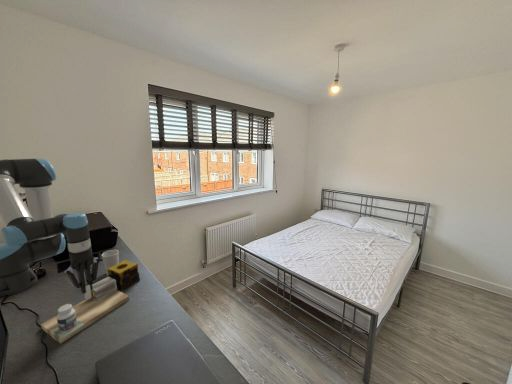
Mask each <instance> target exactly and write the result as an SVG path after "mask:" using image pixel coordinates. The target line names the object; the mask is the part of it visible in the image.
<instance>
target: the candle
mask: <svg viewBox="0 0 512 384" xmlns="http://www.w3.org/2000/svg"><path fill="white" fill-rule="evenodd" d="M108 274H109V275H108V277H111V278H113V279H115V280H116V285H117V290H118V291H125V290H126V289H128V288H129V287H131V286H132V285H134V284H136V283H138V282H139V281H140V280H141V278H140V273H139V264H138V263H136V262H132V261H129V260H128V259H124V260H123V261H121V262H120V261H119V263H118V264H116V265H114V266H112V267H110V268H108ZM137 281H138V282H137ZM135 282H136V283H135Z"/></svg>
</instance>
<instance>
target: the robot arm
mask: <svg viewBox="0 0 512 384" xmlns="http://www.w3.org/2000/svg"><path fill="white" fill-rule="evenodd" d="M56 179H57V175H56V171H55V168H54V167H53V164H52V163H51V162H50V160H48V159H45V158H18V159H17V158H16V159H5V158H4V159H0V217H1V219H2V221H3V223H4V225H5V226H6V227H3V228H1V230H0V231H1V232H0V233H1V236H2V240H3V243H1V244H0V297H1V298H2V297H6V295H8V296H12V295H15V294H18V293H20V292H23V291H25V290H27V289H29V288H32V287H33V286H34V285H35V284H37V282H38V276H37V275H36V274H35V272H34V271H33V270H32V269H31V268H30V264H31V263H35V262H39V261H40V260H44V259H48V258H51V257H54V256H57V255H60V254H61V253H63V252H64V251H65V249H66V245H67V251H68V256H69V261H70V263H69V267H68V268H67V269H64V270H63V273H65V275H67V276H68V279H69V280H70V282H71V283H72V284H73V286H74V287H75V288H76V289H80V292H81V293H82V294H83V295H84V299H85V300H86V299H90V298H92V296H91V290H92V289H93V287H92V285H93V284H94V281H96V280H97V278H98V269H99V264H100V262H101V258H99V257H97V256H95V257H94V255H93V249H92V243H91V238H90V235H91V234H90V229H89V220H88V217H87V215H86V214H85V213H84V212H74V213H59V214H56V215H55V216H54V215H53V208H52V201H51V194H50V187H51V186H52V185H53V182H54V181H56ZM15 185H18V186H19V188H21V189H22V190H24V191H25V192H24V194H25V198H26V199H25V200H26V203H27V205H26V203H25V202H24V200H23V199H22V197H21V196H20V194H19V191H18V190H17V188H16V187H15ZM65 238H66V239H65ZM74 270H75V272H77V273H76V274H77V278H76V275H75V274H74Z"/></svg>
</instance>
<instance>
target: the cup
mask: <svg viewBox="0 0 512 384" xmlns="http://www.w3.org/2000/svg"><path fill="white" fill-rule="evenodd" d="M119 253H120V252H119V250H118V249H110V250H106V251H104V252H103V253H102V254H101V258H102V263H103V265H104V266H103V267H104V270H105V274H106V276H109V274H108V268H110V267H112V266H114V265H116V264H118V263H120V257H119V256H120V255H119Z"/></svg>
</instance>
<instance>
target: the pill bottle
mask: <svg viewBox="0 0 512 384" xmlns="http://www.w3.org/2000/svg"><path fill="white" fill-rule="evenodd" d="M72 307H73V305H72V304H71V303H66V304H64V305H62V306H59V308H58V309H57V313H58V314H57V315H56V316H57V322H58V327H59V331H60V332H61V333H65V332H68V331H70V330H72V329H74V328H75V327H76V325H77V319H76V313H75V310H74V309H73V308H72Z"/></svg>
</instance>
